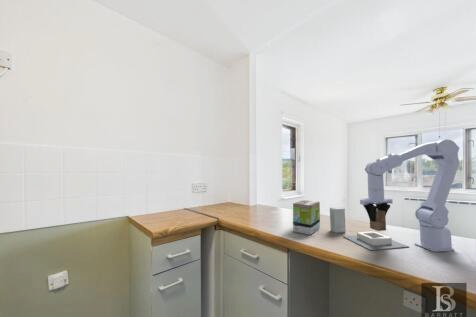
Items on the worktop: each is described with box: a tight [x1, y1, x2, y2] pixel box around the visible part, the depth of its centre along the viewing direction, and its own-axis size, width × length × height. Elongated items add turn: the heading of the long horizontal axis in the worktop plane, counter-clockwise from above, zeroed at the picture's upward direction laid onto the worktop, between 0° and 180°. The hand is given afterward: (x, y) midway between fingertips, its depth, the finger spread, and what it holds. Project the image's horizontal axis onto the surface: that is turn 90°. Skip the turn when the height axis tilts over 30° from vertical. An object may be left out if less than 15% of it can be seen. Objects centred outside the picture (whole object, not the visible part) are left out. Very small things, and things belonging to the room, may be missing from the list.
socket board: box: [342, 230, 410, 252], centre depth 89 cm, size 18×16×3 cm
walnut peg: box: [369, 209, 387, 232], centre depth 87 cm, size 4×4×8 cm
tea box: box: [292, 199, 321, 236], centre depth 108 cm, size 15×10×15 cm, turn 143°
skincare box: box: [329, 206, 347, 234], centre depth 104 cm, size 6×4×12 cm
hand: (377, 220), depth 87 cm, fingers closed on walnut peg, 4 cm apart
